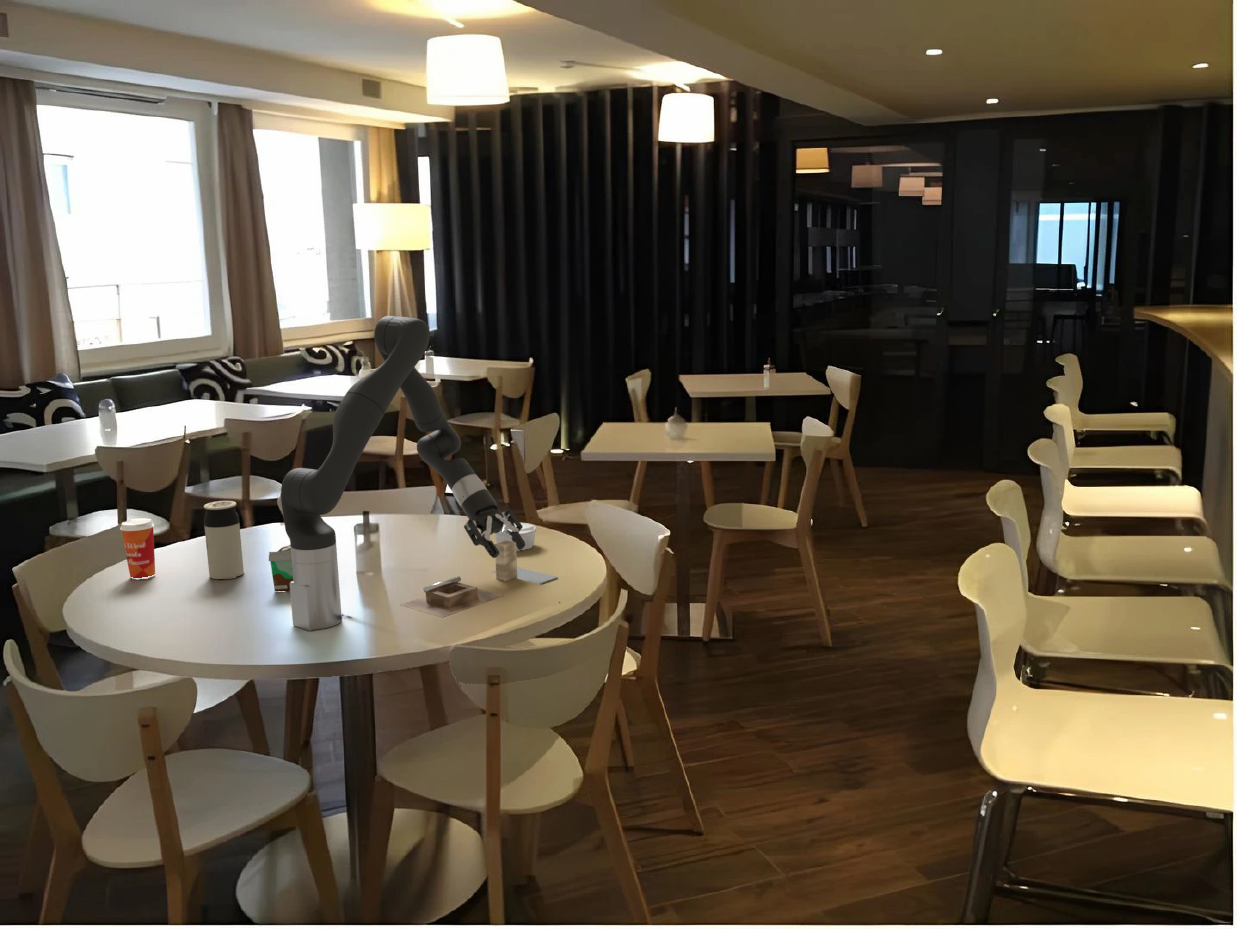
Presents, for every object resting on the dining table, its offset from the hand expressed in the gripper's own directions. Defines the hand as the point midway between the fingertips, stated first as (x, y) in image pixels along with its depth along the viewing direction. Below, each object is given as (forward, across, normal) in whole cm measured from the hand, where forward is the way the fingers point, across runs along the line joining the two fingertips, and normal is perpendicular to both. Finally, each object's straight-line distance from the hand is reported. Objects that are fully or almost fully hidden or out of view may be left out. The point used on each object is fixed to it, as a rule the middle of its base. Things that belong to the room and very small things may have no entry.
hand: (509, 551), depth 252 cm
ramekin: (-10, +23, +21) cm, 32 cm away
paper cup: (-49, -50, +60) cm, 92 cm away
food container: (-22, -32, +33) cm, 51 cm away
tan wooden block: (+4, 0, +6) cm, 7 cm away
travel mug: (-38, -37, +49) cm, 72 cm away
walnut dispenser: (+6, -19, +5) cm, 20 cm away
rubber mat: (+4, 0, +6) cm, 8 cm away
